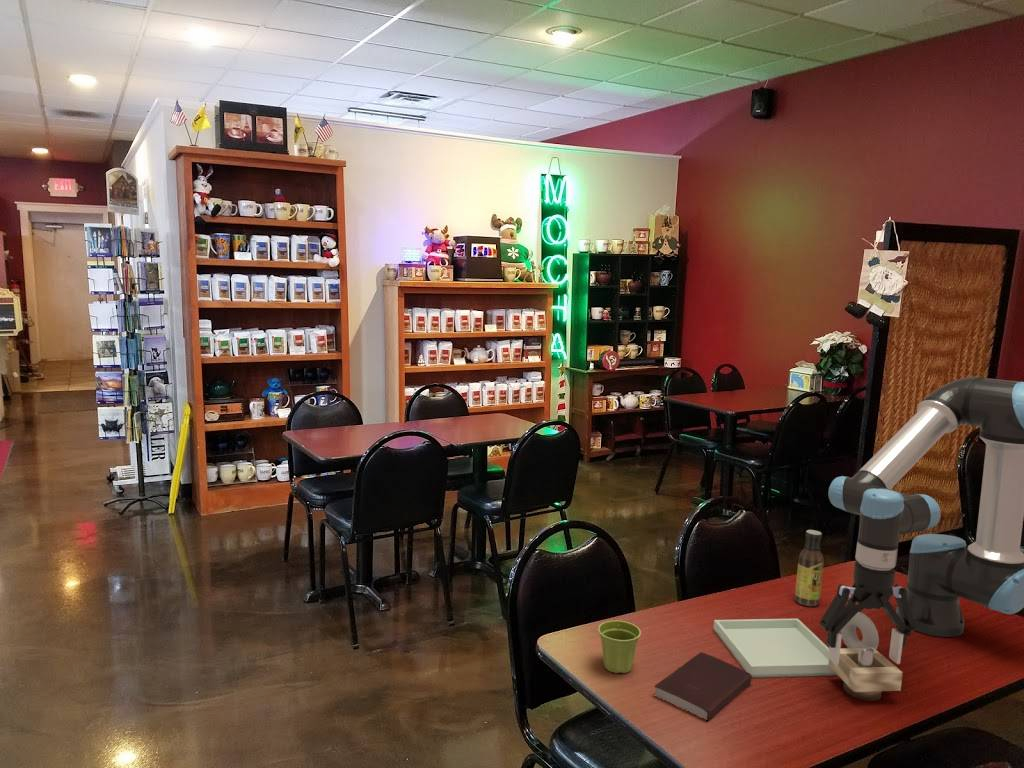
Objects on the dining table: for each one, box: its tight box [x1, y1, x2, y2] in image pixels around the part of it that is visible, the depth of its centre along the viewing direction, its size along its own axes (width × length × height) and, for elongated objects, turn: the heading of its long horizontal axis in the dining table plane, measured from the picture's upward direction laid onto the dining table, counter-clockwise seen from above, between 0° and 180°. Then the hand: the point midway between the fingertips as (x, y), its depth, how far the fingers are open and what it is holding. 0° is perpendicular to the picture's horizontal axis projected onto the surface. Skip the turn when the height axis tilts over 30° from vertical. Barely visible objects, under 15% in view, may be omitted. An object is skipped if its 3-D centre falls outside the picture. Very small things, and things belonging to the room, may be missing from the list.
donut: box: [840, 612, 880, 650], centre depth 166 cm, size 10×4×10 cm, turn 19°
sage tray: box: [713, 618, 838, 678], centre depth 166 cm, size 22×22×3 cm
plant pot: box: [597, 619, 642, 674], centre depth 157 cm, size 9×9×9 cm
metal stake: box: [842, 646, 883, 702], centre depth 150 cm, size 7×7×10 cm
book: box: [654, 652, 752, 721], centre depth 149 cm, size 12×19×3 cm, turn 136°
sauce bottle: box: [794, 529, 825, 607], centre depth 192 cm, size 6×6×20 cm
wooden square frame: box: [828, 647, 904, 692], centre depth 150 cm, size 10×10×4 cm
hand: (864, 661), depth 150 cm, fingers open, 13 cm apart
